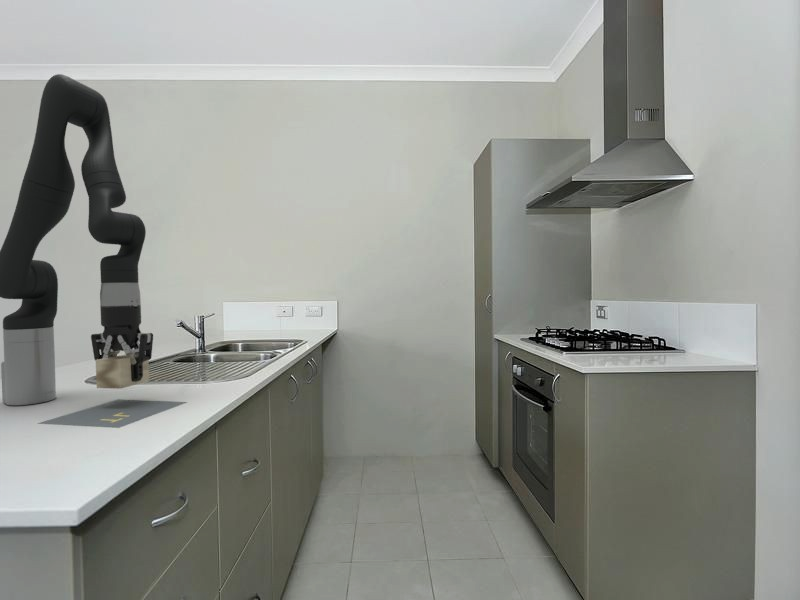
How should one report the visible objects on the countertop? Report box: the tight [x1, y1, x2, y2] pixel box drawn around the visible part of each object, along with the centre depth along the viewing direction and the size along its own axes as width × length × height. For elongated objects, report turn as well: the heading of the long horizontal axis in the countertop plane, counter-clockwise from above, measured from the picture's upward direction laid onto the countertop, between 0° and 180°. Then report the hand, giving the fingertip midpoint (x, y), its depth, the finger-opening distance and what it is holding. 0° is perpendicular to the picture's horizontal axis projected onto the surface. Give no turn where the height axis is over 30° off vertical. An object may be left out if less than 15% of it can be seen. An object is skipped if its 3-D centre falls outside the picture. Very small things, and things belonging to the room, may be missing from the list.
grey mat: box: [37, 398, 188, 429], centre depth 93 cm, size 18×19×1 cm
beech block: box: [95, 353, 150, 390], centre depth 100 cm, size 6×8×6 cm
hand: (123, 380), depth 100 cm, fingers closed on beech block, 6 cm apart
